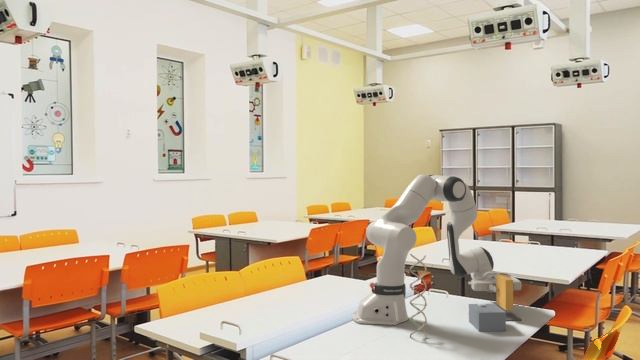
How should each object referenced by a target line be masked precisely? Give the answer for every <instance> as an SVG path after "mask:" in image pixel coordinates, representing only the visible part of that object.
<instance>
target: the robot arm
mask: <svg viewBox="0 0 640 360" xmlns="http://www.w3.org/2000/svg"><path fill="white" fill-rule="evenodd" d="M431 200H435V201H439V202H448V206H449V211H450V219H449V222H448V223H447V224H446V236H447V247H448V257H449V258H448V266H449V270H450V272H451V274H452V275H453V276H455V277H458V278H461V279H462V278H465V277H467V276H468V275H470V277H471V280H470V281H468V282H467V284H468V285H470V287H471V289H472V290H473V291H475V292H485V291H486V292H487V293H496V291H499V287H498V286H496V275H500V274H504V275H505V276H507V277H509V278H511V279H512V280H513V291H521V290H522V281H521V280H519V278H516V277H514V276H512V275H511V273H506V272H505V273H503V272H497V271H493V270H494V266H495V264H494V259H493V256H492V254H491V253H490V252H489V251H488V250H487V249H485V248H484V247H482V246H478V247H476V248H475V247H474V248H473V249H470V250H468V251H465V252H462V253H460V244H459V239H460V236H461V235H462V234H463V233H464V232H465V231H466V230H467V229H469V228H470V227H471V226H472V225H473V224H475V221H476V220H477V217H478V208H477V206H476V202H475V198H474V196H473V193H472V191H471V188H470V187H469V186H468V184H467V183H465V182H464V180H463V179H462V178H460V177H457V176H451V175H450V176H449V175H444V174H430V175H428V174H424V173H423V174H422V173H421V174H419V175H418V174H417V176H416V177H414V178H413V180H412V181H411V182H410V183H409V184H408V186H406V188H405V189H404V191H403V192H402V194H401V195H400V196H399V198H398V199H397V201H395V203H394V204H393V206H392V207H390V209H389V210H387V211H386V212H385V213H384V214H382V215H381V216H380V217H379V218H378V219H376V220H374V221H372V222H370V223H369V224H368V225H367V227H366V229H365V235H366V239H367V240H368V242H370V243H371V244H373V245H374V246H376V247H379V248H383V254H382V255H381V259H379V260H378V261H377V264H376V282H375V283H374V282H373V281H371V282H370V283H369V287H370V288H371V292H370V293H369V294H367V295H365V297H363V298H361V299H360V301H359V303H358V305H357V306H358V307H357V311H353V312H352V314H351V315H352V316H351V317H352V320H353V322H355V323H358V324H361V325H362V324H363V325H364V324H366V325H367V324H369V325H385V326H386V325H387V326H388V325H389V326H391V325H392V326H397V325H398V324H401V323H403V322H404V323H405V322H406V321H408V320H409V315H408V313H407V312H408V311H407V306H406V294H407V291H406V290H407V289H406V288H407V287H406V283H405V266H406V261H407V257H408V254H409V252H410V251H411V250H412V249H413V248H414V247H415V245H416V243H417V233H416V231H415V229H413V228H412V227H410V225H411V224H413V223H415V222H417V221H418V220H419V219H420V217H421V215H422V214H423V212H424V211H425V210H426V208H427V206H428V205H429V203H430V202H431Z"/></svg>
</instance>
